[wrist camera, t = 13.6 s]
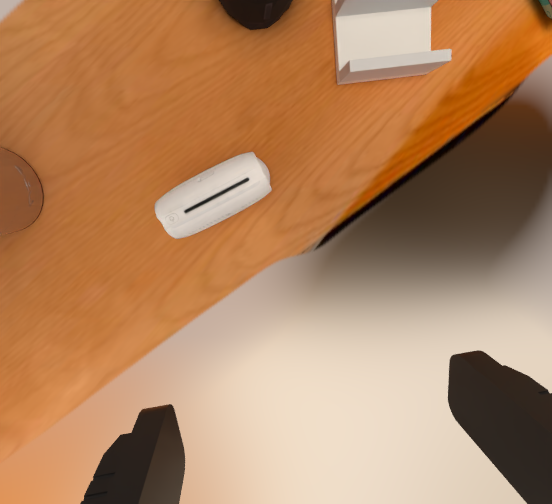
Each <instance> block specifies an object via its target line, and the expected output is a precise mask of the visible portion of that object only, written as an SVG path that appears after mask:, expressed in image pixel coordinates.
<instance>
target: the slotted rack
mask: <svg viewBox="0 0 552 504" xmlns="http://www.w3.org/2000/svg"><path fill="white" fill-rule="evenodd" d="M437 1H438V0H332V14H333V29H334V44H335V60H336V75H337V85H340V84H349V83H357V82H366V81H375V80H383V79H392V78H400V77H409V76H418V75H426V74H427V73H429V72H431V71H433V70H435V69H437V68H438V67H440V66H442V65H444V64H446V63H447V62H449V61H451V49H445V50H436V51H431V6H433V5H434V4H435V3H436V2H437Z"/></svg>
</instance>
